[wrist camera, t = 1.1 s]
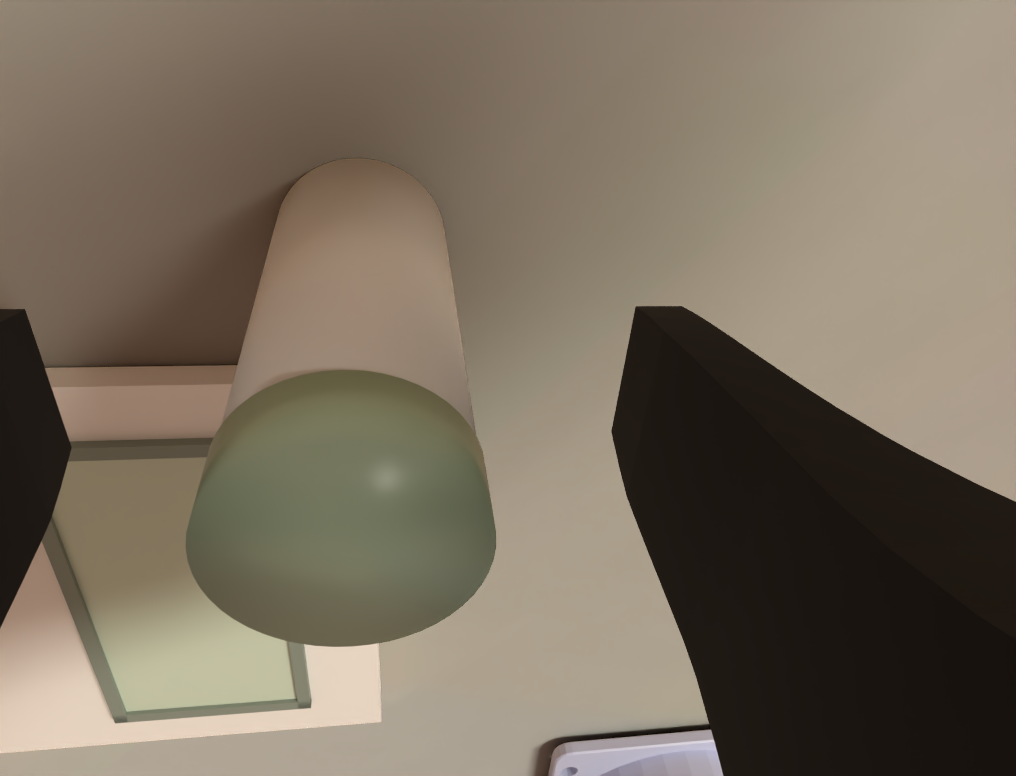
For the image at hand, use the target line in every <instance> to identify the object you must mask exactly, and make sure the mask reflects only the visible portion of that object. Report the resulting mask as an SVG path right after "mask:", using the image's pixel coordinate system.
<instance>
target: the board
mask: <svg viewBox="0 0 1016 776" xmlns="http://www.w3.org/2000/svg"><path fill="white" fill-rule="evenodd" d="M236 369H237V365H217V366H145V367H74V368H45V370H46V373H47V376H48V379H49V382H50V385H51V388H52V391H53V394H54V397H55V400H56V403H57V405H58V408H59V411H60V414H61V417H62V420H63V423H64V426H65V429H66V432H67V435H68V438H69V441H70V444H71V447H72V449H71V452H70V456H69V460H68V463H67V467H66V471H65V474H64V478H63V482H62V485H61V489H60V492H59V495H58V499H57V502H56V505H55V508H54V511H53V514H52V518H51V521H50V523H49V525H48V528H47V530H46V532H45V534H44V536H43V539H42V541H41V543H40V545H39V547H38V550H37V552H36V554H35V556H34V558H33V560H32V562H31V565H30V567H29V569H28V571H27V573H26V575H25V578H24V580H23V582H22V584H21V586H20V588H19V590H18V592H17V594H16V596H15V599H14V601H13V603H12V605H11V607H10V609H9V611H8V613H7V615H6V617H5V619H4V622H3V624H2V626H1V628H0V753H9V752H21V751H33V750H45V749H58V748H70V747H82V746H94V745H106V744H118V743H131V742H143V741H155V740H167V739H179V738H191V737H204V736H216V735H228V734H240V733H252V732H264V731H277V730H289V729H301V728H313V727H325V726H337V725H350V724H362V723H374V722H381V683H380V659H379V643H377V644H371V645H362V646H352V647H326V646H313V645H306V644H298V643H294V642H289V641H285V640H281V639H277V638H274V637H271V636H268V635H265V634H262V633H260V632H258V631H255V630H253V629H251V628H248V627H247V626H245V625H243V624H241V623H239V622H238V621H236V620H234V619H233V618H231V617H230V616H228V615H227V614H226V613H224V612H223V611H221V610H220V609H219V608H218V607H217V606H216V605H215V604H214V603H213V602H212V601H210V600H209V599H208V597H207V596H206V595H205V594H204V592H203V591H202V590H201V589H200V587H199V586H198V584H197V582H196V580H195V578H194V577H193V575H192V572H191V569H190V567H189V564H188V561H187V554H186V547H185V546H186V532H187V528H188V524H189V520H190V516H191V513H192V509H193V505H194V502H195V498H196V495H197V491H198V488H199V484H200V480H201V477H202V473H203V470H204V466H205V462H206V459H207V455H208V452H209V448H210V445H211V443H212V441H213V439H214V436H215V434H216V432H217V431H218V429H219V428H220V426H221V424H222V420H223V417H224V413H225V409H226V406H227V402H228V398H229V394H230V391H231V387H232V383H233V380H234V376H235V372H236Z"/></svg>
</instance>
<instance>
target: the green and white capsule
mask: <svg viewBox="0 0 1016 776" xmlns="http://www.w3.org/2000/svg"><path fill="white" fill-rule="evenodd" d="M185 547H186V554H187V561H188V564H189V567H190V569H191V572H192V575H193V577H194V578H195V580H196V582H197V584H198V586H199V587H200V589H201V590H202V591H203V592H204V594H205V595H206V596H207V597H208V599H209V600H210V601H212V602H213V603H214V604H215V605H216V606H217V607H218V608H219V609H220V610H221V611H223V612H224V613H226V614H227V615H228V616H230V617H231V618H233V619H234V620H236V621H238V622H239V623H241V624H243V625H245V626H247V627H248V628H251V629H253V630H255V631H258V632H260V633H262V634H265V635H268V636H271V637H274V638H277V639H281V640H285V641H289V642H294V643H298V644H306V645H313V646H326V647H352V646H362V645H371V644H377V643H382V642H387V641H391V640H395V639H399V638H402V637H406V636H408V635H411V634H414V633H416V632H419V631H422V630H424V629H426V628H428V627H430V626H432V625H434V624H436V623H438V622H440V621H441V620H443V619H445V618H446V617H448V616H449V615H451V614H452V613H454V612H455V611H456V610H457V609H459V608H460V607H461V606H463V605H464V604H465V603H466V602H467V601H468V600H469V599H470V598H471V597H472V596H473V595H474V593H475V592H476V591H477V590H478V588H479V587H480V586H481V585H482V583H483V581H484V579H485V578H486V576H487V574H488V572H489V570H490V567H491V565H492V562H493V559H494V554H495V549H496V530H495V523H494V517H493V511H492V505H491V499H490V492H489V486H488V480H487V474H486V467H485V462H484V456H483V451H482V449H481V446H480V443H479V441H478V438H477V436H476V433H475V426H474V420H473V413H472V407H471V400H470V394H469V387H468V381H467V374H466V368H465V361H464V354H463V348H462V341H461V335H460V328H459V322H458V315H457V309H456V302H455V296H454V289H453V283H452V276H451V270H450V263H449V256H448V250H447V243H446V237H445V230H444V225H443V220H442V217H441V214H440V211H439V209H438V207H437V205H436V203H435V201H434V200H433V198H432V197H431V195H430V194H429V192H428V191H427V190H426V189H425V188H424V187H423V186H422V185H421V184H420V183H419V182H418V181H417V180H416V179H414V178H413V177H412V176H410V175H409V174H407V173H406V172H404V171H403V170H401V169H399V168H397V167H395V166H393V165H390V164H387V163H384V162H381V161H376V160H372V159H363V158H349V159H341V160H335V161H332V162H329V163H326V164H323V165H321V166H319V167H317V168H314V169H313V170H311V171H310V172H308V173H307V174H305V175H304V176H303V177H302V178H300V179H299V180H298V181H297V182H296V183H295V184H294V185H293V186H292V188H291V189H290V190H289V192H288V193H287V195H286V196H285V198H284V200H283V202H282V204H281V207H280V209H279V213H278V217H277V220H276V224H275V228H274V231H273V235H272V239H271V243H270V246H269V250H268V254H267V257H266V261H265V265H264V269H263V272H262V276H261V280H260V283H259V287H258V291H257V294H256V298H255V302H254V306H253V309H252V313H251V317H250V320H249V324H248V328H247V331H246V335H245V339H244V343H243V346H242V350H241V354H240V357H239V361H238V365H237V369H236V372H235V376H234V380H233V383H232V387H231V391H230V394H229V398H228V402H227V406H226V409H225V413H224V417H223V420H222V424H221V426H220V428H219V429H218V431H217V432H216V434H215V436H214V439H213V441H212V443H211V445H210V448H209V452H208V455H207V459H206V462H205V466H204V470H203V473H202V477H201V480H200V484H199V488H198V491H197V495H196V498H195V502H194V505H193V509H192V513H191V516H190V520H189V524H188V528H187V532H186V546H185Z"/></svg>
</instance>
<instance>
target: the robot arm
mask: <svg viewBox="0 0 1016 776" xmlns="http://www.w3.org/2000/svg"><path fill="white" fill-rule="evenodd" d="M612 436H613V440H614V445H615V449H616V454H617V458H618V463H619V467H620V471H621V475H622V479H623V483H624V487H625V491H626V495H627V498H628V501H629V503H630V506H631V509H632V511H633V514H634V517H635V519H636V522H637V524H638V527H639V529H640V532H641V535H642V537H643V540H644V542H645V545H646V547H647V550H648V552H649V555H650V558H651V560H652V563H653V565H654V568H655V570H656V573H657V575H658V578H659V580H660V583H661V585H662V588H663V590H664V593H665V595H666V598H667V600H668V603H669V605H670V608H671V610H672V613H673V615H674V618H675V620H676V623H677V625H678V628H679V630H680V633H681V635H682V638H683V640H684V643H685V646H686V649H687V652H688V655H689V657H690V660H691V663H692V666H693V669H694V672H695V675H696V678H697V681H698V685H699V689H700V692H701V696H702V699H703V703H704V707H705V710H706V714H707V717H708V721H709V724H710V728H711V729H710V730H699V731H687V732H676V733H665V734H654V735H643V736H631V737H620V738H609V739H598V740H587V741H575V742H568V743H564V744H561V745H559V746H558V747H557V748H555V750H554V751H553V753H552V759H551V764H550V769H549V774H548V776H1016V502H1015V501H1013V500H1010V499H1008V498H1006V497H1004V496H1002V495H1000V494H997V493H995V492H993V491H991V490H989V489H987V488H984V487H982V486H980V485H978V484H976V483H974V482H972V481H970V480H968V479H966V478H964V477H962V476H960V475H958V474H956V473H954V472H952V471H950V470H948V469H946V468H944V467H942V466H940V465H938V464H936V463H934V462H932V461H930V460H928V459H926V458H924V457H923V456H921V455H919V454H917V453H915V452H913V451H911V450H909V449H907V448H905V447H904V446H902V445H900V444H898V443H896V442H895V441H893V440H891V439H889V438H887V437H886V436H884V435H882V434H880V433H879V432H877V431H875V430H874V429H872V428H870V427H869V426H867V425H865V424H864V423H862V422H860V421H859V420H857V419H855V418H854V417H852V416H850V415H849V414H847V413H845V412H844V411H842V410H840V409H839V408H837V407H835V406H834V405H832V404H831V403H829V402H827V401H826V400H824V399H823V398H821V397H820V396H818V395H816V394H815V393H813V392H812V391H810V390H809V389H807V388H806V387H804V386H803V385H801V384H799V383H798V382H796V381H795V380H793V379H792V378H790V377H789V376H787V375H786V374H784V373H783V372H781V371H780V370H778V369H777V368H776V367H774V366H773V365H771V364H770V363H768V362H767V361H765V360H764V359H762V358H761V357H759V356H758V355H756V354H755V353H754V352H752V351H751V350H749V349H748V348H746V347H745V346H743V345H742V344H740V343H739V342H738V341H736V340H735V339H733V338H732V337H730V336H729V335H727V334H726V333H724V332H723V331H721V330H720V329H718V328H717V327H715V326H714V325H712V324H711V323H709V322H708V321H706V320H705V319H703V318H701V317H700V316H698V315H696V314H695V313H693V312H691V311H689V310H688V309H686V308H684V307H682V306H637V307H636V308H635V313H634V318H633V323H632V329H631V334H630V339H629V344H628V349H627V354H626V359H625V365H624V370H623V375H622V380H621V385H620V390H619V396H618V401H617V406H616V411H615V416H614V421H613V426H612ZM71 449H72V447H71V444H70V441H69V438H68V435H67V432H66V429H65V426H64V423H63V420H62V417H61V414H60V411H59V408H58V405H57V403H56V400H55V397H54V394H53V391H52V388H51V385H50V382H49V379H48V376H47V373H46V370H45V367H44V364H43V361H42V358H41V355H40V352H39V349H38V346H37V344H36V341H35V338H34V335H33V332H32V329H31V326H30V323H29V320H28V317H27V314H26V311H25V309H0V628H1V626H2V624H3V622H4V619H5V617H6V615H7V613H8V611H9V609H10V607H11V605H12V603H13V601H14V599H15V596H16V594H17V592H18V590H19V588H20V586H21V584H22V582H23V580H24V578H25V575H26V573H27V571H28V569H29V567H30V565H31V562H32V560H33V558H34V556H35V554H36V552H37V550H38V547H39V545H40V543H41V541H42V539H43V536H44V534H45V532H46V530H47V528H48V525H49V523H50V521H51V518H52V514H53V511H54V508H55V505H56V502H57V499H58V495H59V492H60V489H61V485H62V482H63V478H64V474H65V471H66V467H67V463H68V460H69V456H70V452H71Z"/></svg>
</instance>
